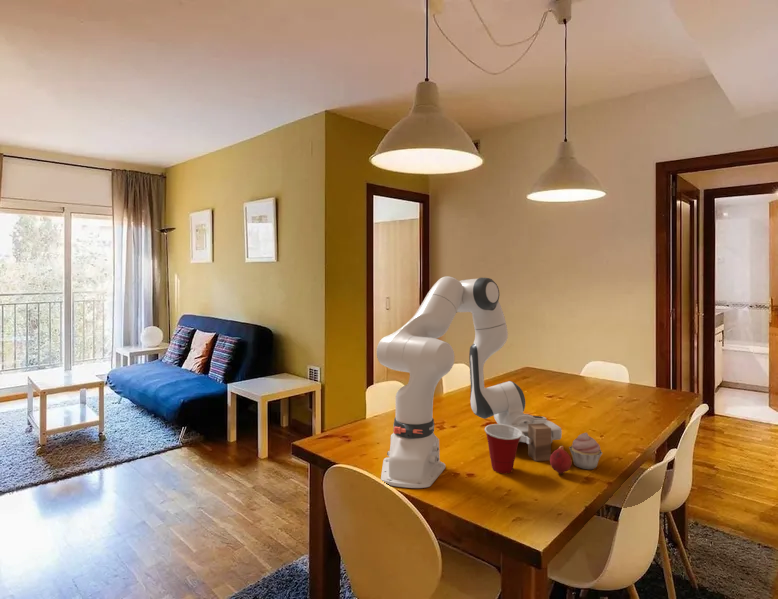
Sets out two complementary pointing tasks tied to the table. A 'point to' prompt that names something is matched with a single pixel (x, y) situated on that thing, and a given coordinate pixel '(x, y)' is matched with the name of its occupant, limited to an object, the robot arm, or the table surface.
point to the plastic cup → (502, 446)
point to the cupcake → (585, 452)
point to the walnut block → (539, 442)
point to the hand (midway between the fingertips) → (540, 441)
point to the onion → (560, 460)
